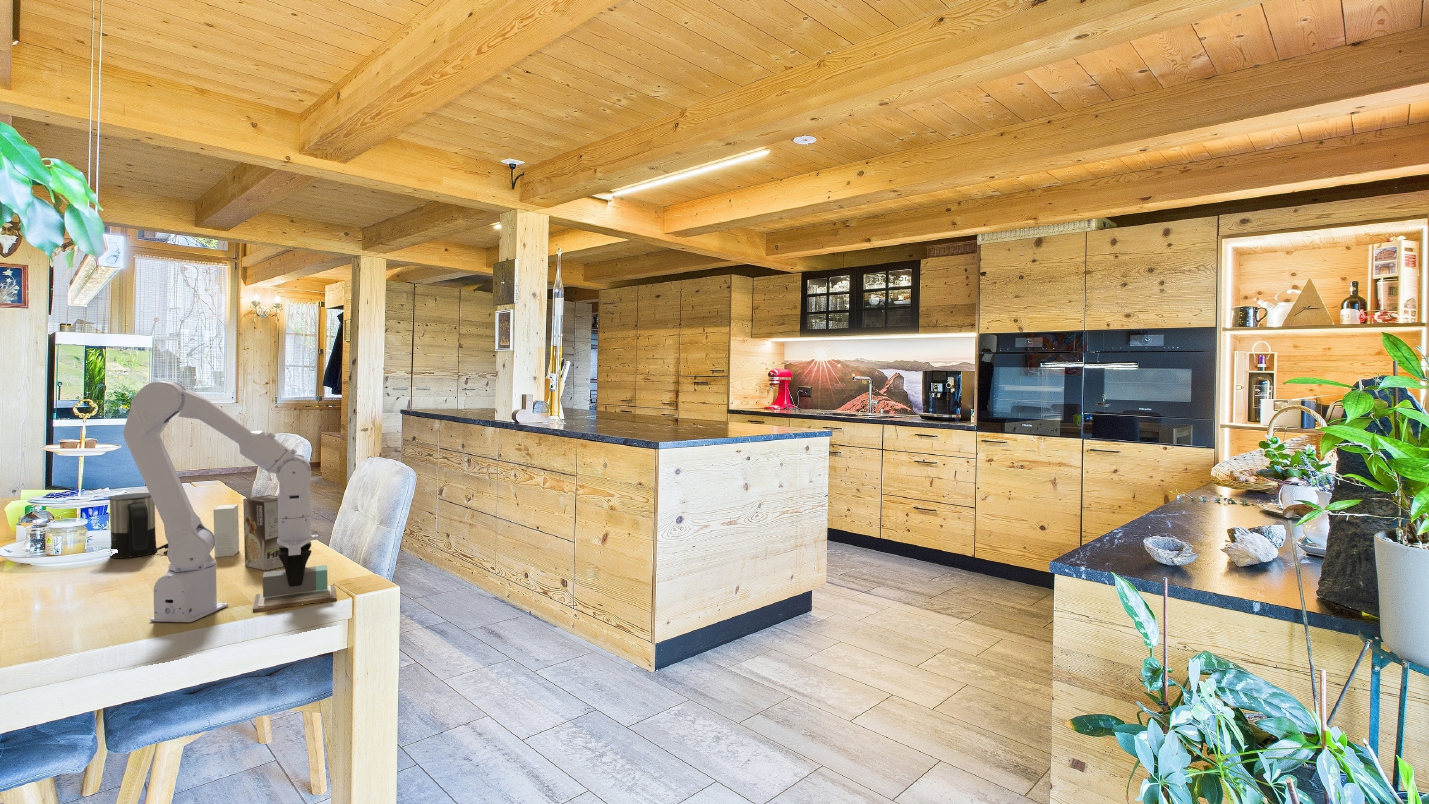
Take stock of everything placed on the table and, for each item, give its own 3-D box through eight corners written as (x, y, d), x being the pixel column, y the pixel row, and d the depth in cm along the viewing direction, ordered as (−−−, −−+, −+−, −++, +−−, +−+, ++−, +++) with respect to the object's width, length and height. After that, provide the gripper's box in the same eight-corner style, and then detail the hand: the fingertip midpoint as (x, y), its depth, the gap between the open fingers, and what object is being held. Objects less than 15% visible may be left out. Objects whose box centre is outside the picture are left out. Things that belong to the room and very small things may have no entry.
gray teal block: (263, 597, 135) (262, 577, 135) (264, 591, 139) (263, 572, 139) (327, 589, 141) (327, 569, 141) (327, 584, 144) (326, 565, 144)
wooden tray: (252, 612, 132) (252, 607, 132) (255, 597, 141) (255, 593, 141) (336, 600, 139) (336, 596, 139) (334, 587, 148) (334, 583, 148)
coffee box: (293, 564, 165) (292, 497, 164) (265, 571, 159) (264, 502, 158) (270, 559, 169) (269, 494, 168) (242, 565, 163) (241, 498, 163)
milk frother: (100, 556, 170) (99, 496, 170) (172, 542, 185) (171, 487, 184) (135, 563, 165) (133, 501, 164) (206, 548, 179) (204, 491, 178)
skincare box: (219, 551, 175) (218, 504, 175) (239, 550, 177) (238, 503, 177) (213, 557, 170) (212, 509, 169) (234, 556, 172) (233, 508, 171)
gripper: (318, 520, 135) (319, 589, 136) (317, 507, 148) (317, 570, 148) (275, 524, 132) (276, 595, 132) (278, 510, 144) (279, 575, 145)
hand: (295, 582), depth 140 cm, fingers closed on gray teal block, 4 cm apart
